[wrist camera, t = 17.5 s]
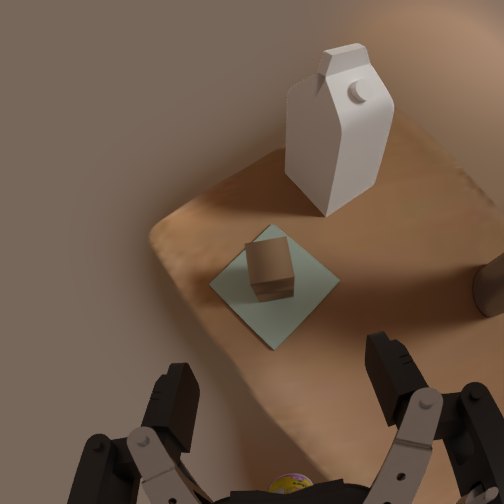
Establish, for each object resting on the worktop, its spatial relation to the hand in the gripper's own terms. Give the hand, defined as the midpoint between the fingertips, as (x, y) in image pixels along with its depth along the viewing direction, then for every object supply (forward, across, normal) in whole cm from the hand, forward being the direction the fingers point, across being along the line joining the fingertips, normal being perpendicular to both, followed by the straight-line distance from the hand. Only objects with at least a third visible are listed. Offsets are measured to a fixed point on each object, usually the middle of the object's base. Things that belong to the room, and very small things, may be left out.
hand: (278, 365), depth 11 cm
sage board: (+28, 0, +11) cm, 30 cm away
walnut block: (+27, 0, +11) cm, 29 cm away
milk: (+40, -13, -1) cm, 42 cm away
